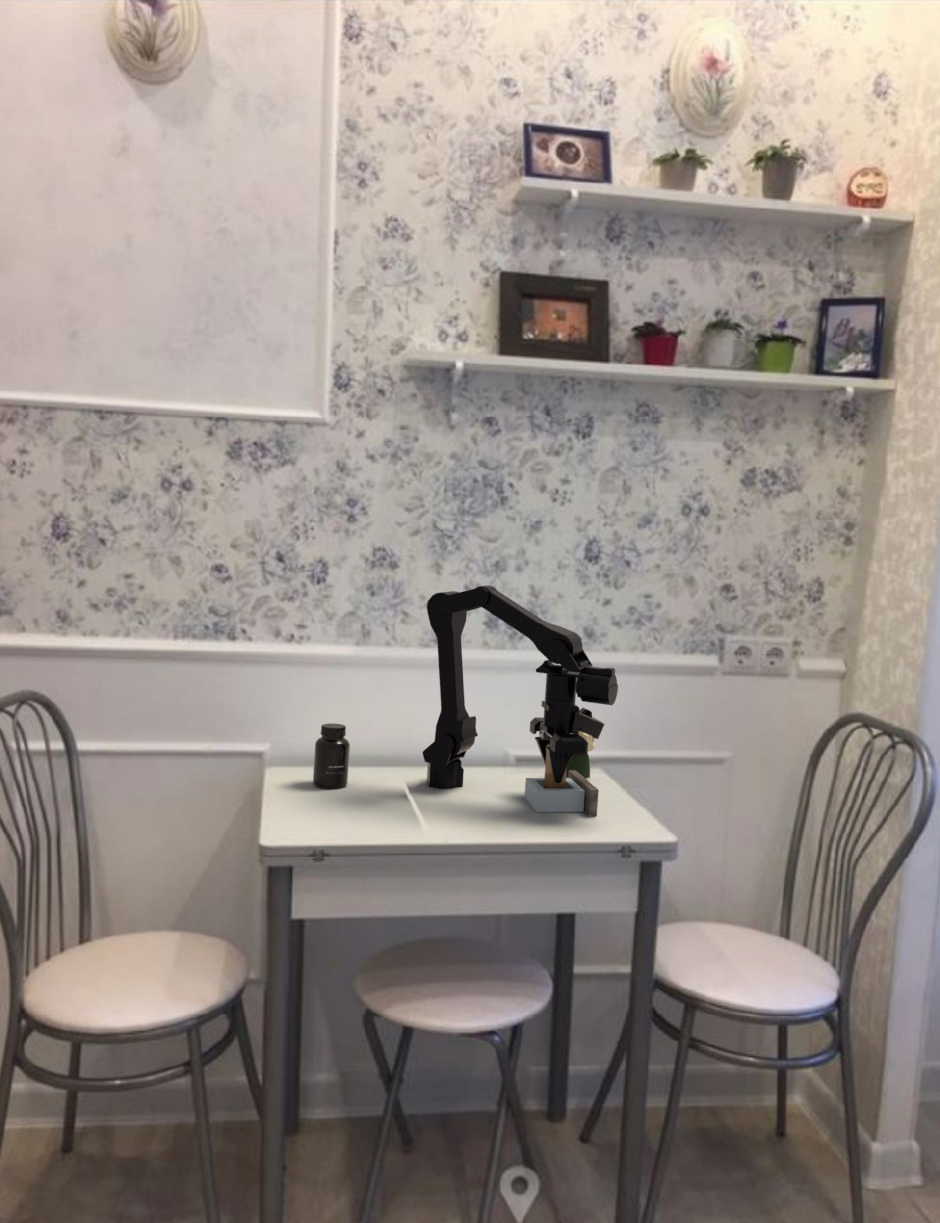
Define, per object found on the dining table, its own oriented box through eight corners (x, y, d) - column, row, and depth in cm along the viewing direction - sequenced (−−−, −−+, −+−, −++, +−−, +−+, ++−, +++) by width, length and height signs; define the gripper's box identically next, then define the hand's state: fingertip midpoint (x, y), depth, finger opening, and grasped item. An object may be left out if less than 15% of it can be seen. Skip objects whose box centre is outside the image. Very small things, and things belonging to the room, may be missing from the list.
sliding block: (536, 812, 190) (538, 790, 189) (524, 798, 198) (525, 778, 198) (583, 811, 191) (584, 790, 191) (569, 798, 200) (570, 778, 200)
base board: (501, 822, 186) (503, 789, 185) (484, 800, 199) (486, 769, 199) (596, 821, 189) (598, 789, 189) (573, 800, 203) (575, 770, 203)
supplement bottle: (333, 791, 200) (336, 730, 198) (305, 785, 203) (308, 725, 202) (354, 784, 206) (357, 725, 204) (327, 778, 209) (329, 720, 208)
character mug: (599, 786, 214) (604, 725, 213) (567, 787, 213) (571, 725, 211) (582, 773, 225) (586, 714, 224) (551, 773, 223) (555, 714, 222)
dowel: (546, 800, 192) (550, 748, 191) (540, 794, 196) (544, 743, 195) (567, 800, 193) (570, 748, 192) (561, 794, 197) (564, 743, 196)
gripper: (617, 709, 185) (611, 793, 187) (585, 690, 204) (580, 767, 205) (558, 707, 183) (552, 793, 185) (531, 689, 201) (526, 767, 203)
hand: (554, 779), depth 194 cm, fingers closed on dowel, 4 cm apart
